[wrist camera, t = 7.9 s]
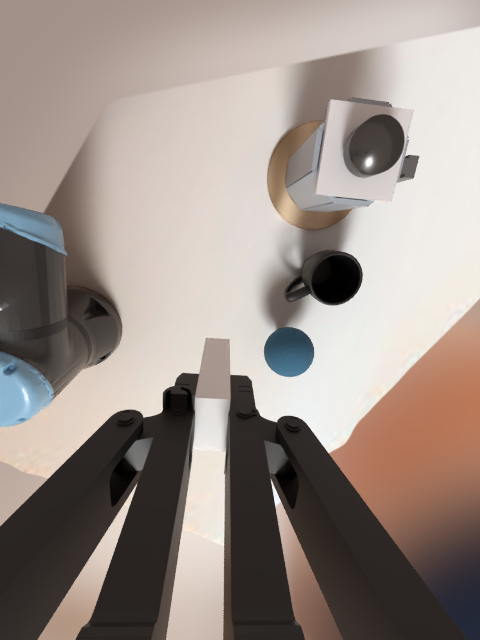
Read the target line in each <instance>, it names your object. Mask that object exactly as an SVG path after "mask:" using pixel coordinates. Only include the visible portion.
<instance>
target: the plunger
mask: <svg viewBox="0 0 480 640" xmlns="http://www.w3.org/2000/svg"><path fill="white" fill-rule="evenodd" d="M404 142H405V136H404V131H403V128H402V126H401V124H400V123H399V122H398V120H397V119H395V118H394V117H392V116H390V115H386V114H379V115H375V116H373V117H371V118H369V119H368V120H366V121H365V122H364V123H362V124H361V125H360V126H358V127H357V128H356V129H354V130H353V131H352V132H351V134H350V135H349V137H348V138H347V140H346V143H345V146H344V151H343V157H344V162H345V165H346V167H347V169H348V170H349V171H350V172H351V173H352V174H353V175H355V176H357V177H361V178H367V177H371V176H374V175H377V174H380V173H383V172H385V171H387V170H389V169H390V168H392V167H393V166H394V165H395V164H396V162H397V161H398V160H399V158H400V156H401V154H402V152H403V148H404ZM321 146H322V142H321ZM321 146H320V152H321ZM319 158H320V153H319ZM318 165H319V159H318ZM318 165H317V171H318ZM335 198H340V197H335Z"/></svg>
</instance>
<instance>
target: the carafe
mask: <svg viewBox="0 0 480 640" xmlns="http://www.w3.org/2000/svg"><path fill="white" fill-rule="evenodd" d="M413 111H414V110H409V109H402V108H394V107H392V105H391V104H389V102H383V101H375V100H367V99H360V98H351V99H349V100H348V101H340V100H333V99H331V100H330V101H329V103H328V108H327V115H326V120H325V121H324V122H323V123H322V124H321V125H320V126H319V127H318V128H317V129H316V130H315V131H314V132H313V133H312V135H311V136H310V137H309V138H308V139H307V140H306V141H305V142H304V143H303V144H302V145H301V147H300V148H299V149H298V150H297V151H296V152H295V153H294V154H293V155H292V156H291V157H290V159H289V162H288V168H287V172H286V185H285V188H286V191H287V192H288V194H289V196H290V198H291V200H292V201H293V202H294V203H295V204H296V205H297V206H298V208H299V209H301V210H305V211H311V212H331V211H338V210H346V209H353V208H360V207H366V206H369V205H370V204H371V203H373V202H374V201H381V202H392V198H393V194H394V190H395V186H396V183H398V182H401V181H405V180H409V179H413V178H414V175H415V171H416V167H417V163H418V159H419V156H414V155H408V156H406V157H405V154H406V150H407V146H408V142H409V140H407V139H408V138H409V137H408V132H409V128H410V124H411V119H412V115H413ZM379 114H386V115H390V116H392V117H394V118H395V119H397V120H398V122H399V123H400V124H401V126H402V128H403V131H404V136H405V142H404V148H403V152H402V154H401V156H400V158H399V160H398V161H397V162H396V164H395V165H394V166H393V167H392V168H390V169H389V170H387V171H385V172H383V173H380V174H377V175H374V176H371V177H367V178H361V177H357V176H355V175H353V174H352V173H351V172H350V171H349V170H348V169H347V167H346V165H345V162H344V157H343V151H344V146H345V143H346V140H347V138H348V137H349V135H350V134H351V132H352V131H353V130H354V129H356V128H357V127H358V126H360V125H361V124H362V123H364V122H365V121H366V120H368V119H369V118H371V117H373V116H375V115H379ZM321 142H322V146H321ZM320 146H321V152H320ZM319 153H320V158H319ZM318 159H319V165H318ZM317 165H318V171H317ZM335 197H340V198H335Z"/></svg>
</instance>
